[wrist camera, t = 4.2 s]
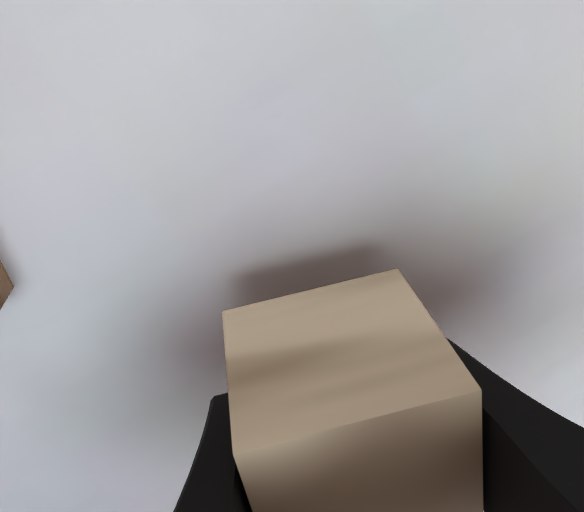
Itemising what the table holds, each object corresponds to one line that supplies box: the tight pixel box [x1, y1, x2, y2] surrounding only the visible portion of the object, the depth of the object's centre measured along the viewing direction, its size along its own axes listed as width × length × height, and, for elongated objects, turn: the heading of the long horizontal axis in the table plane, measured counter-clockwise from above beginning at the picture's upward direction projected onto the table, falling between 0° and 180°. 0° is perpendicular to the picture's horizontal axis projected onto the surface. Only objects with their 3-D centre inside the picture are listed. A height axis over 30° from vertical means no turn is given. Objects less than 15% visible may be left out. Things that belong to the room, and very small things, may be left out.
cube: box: [222, 268, 483, 512], centre depth 12 cm, size 4×4×4 cm
